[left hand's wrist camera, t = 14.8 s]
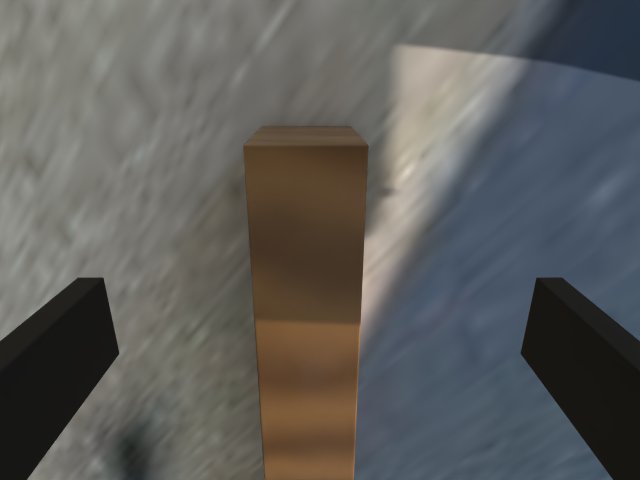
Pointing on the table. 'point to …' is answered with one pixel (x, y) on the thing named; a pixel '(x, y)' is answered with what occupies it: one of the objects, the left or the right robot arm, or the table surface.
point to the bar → (307, 294)
